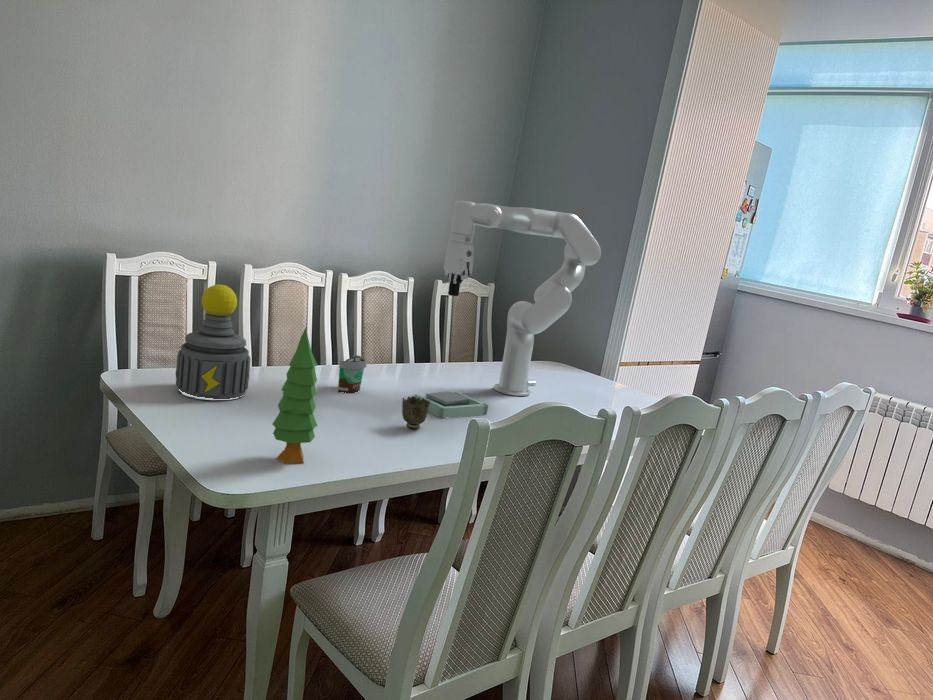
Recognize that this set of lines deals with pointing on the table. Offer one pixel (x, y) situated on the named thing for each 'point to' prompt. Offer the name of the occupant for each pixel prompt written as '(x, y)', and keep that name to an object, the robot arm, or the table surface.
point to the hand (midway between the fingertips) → (453, 295)
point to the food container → (351, 374)
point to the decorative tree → (297, 404)
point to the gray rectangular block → (448, 398)
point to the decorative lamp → (214, 351)
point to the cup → (414, 411)
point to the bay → (456, 408)
